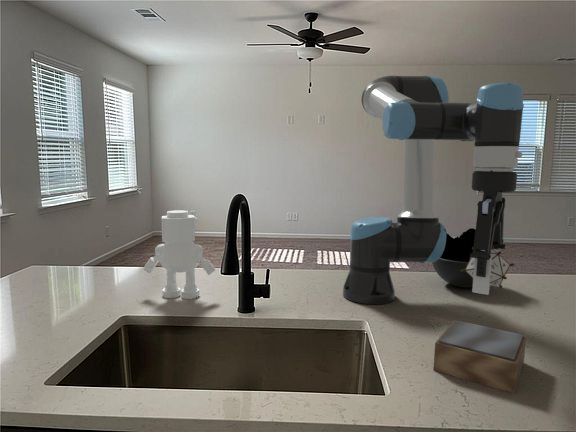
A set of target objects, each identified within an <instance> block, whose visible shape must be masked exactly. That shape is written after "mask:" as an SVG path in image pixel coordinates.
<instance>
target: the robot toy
mask: <svg viewBox="0 0 576 432" xmlns="http://www.w3.org/2000/svg"><path fill="white" fill-rule="evenodd" d="M198 225H199V219H198V217H197V216H195V214H194V215H193V214H189V210H183V209H181V210H179V209H178V210H174V209H173V210H167V211H166V215H162V216H161V242H162V243H160V244H157V246H156V247H155V248H154V252H155V255H154V256H152V257H151V256H150V258H149V259H148V260H147V262H146V263H145V264H144V267H143V271H145V273H148V274H151V273H152V272H153V270H154V269H155V268H156V266H158V263H159V264H160V265H161V267H162V268H163V269H165V270H166V283H165V286H164V288H162V297H163V298H165V299H175V298H179V297H180V296H181V297H180V298H182V299H185V300H192V298H194V299H197V298H199V297H200V296H199V295H200V288H198V286H197V284H196V278H195V275H196V273H195V270H196V268H197V267H198V266H199V264H200V266H201V267H202V269H203V270H204V271H205V272H206V274H207V275H208V276H210V275H211V274H212V273H214V272H215V271H216V268H215V266H214V265H213V263H212V262H211V261H210V260H209V259H208V258H206V259H205V258H204V256H203V253H204V249H203V247H202V246H201V245H200V244H198V243H194V241H196V234H195V232H196V230H195V228H196V226H198ZM177 273H185V284H184V286H183V288H182V289H181V287H179V286H178V285H179V284H178V282H177V275H176V274H177ZM198 296H199V297H198ZM196 297H197V298H196Z"/></svg>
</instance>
